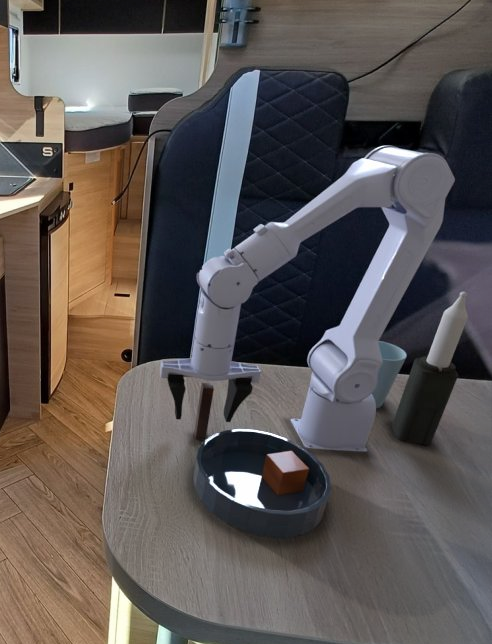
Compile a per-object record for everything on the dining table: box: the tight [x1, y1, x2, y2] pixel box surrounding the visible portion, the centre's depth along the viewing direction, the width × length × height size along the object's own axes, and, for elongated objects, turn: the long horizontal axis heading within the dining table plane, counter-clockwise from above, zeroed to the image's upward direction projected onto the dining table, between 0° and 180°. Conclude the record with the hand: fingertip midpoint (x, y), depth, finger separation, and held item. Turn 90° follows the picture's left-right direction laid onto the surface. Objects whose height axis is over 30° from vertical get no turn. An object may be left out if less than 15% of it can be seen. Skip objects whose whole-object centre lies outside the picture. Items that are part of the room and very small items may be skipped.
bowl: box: [192, 428, 332, 539], centre depth 71 cm, size 17×17×4 cm
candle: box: [391, 291, 469, 447], centre depth 79 cm, size 5×5×25 cm
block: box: [262, 451, 309, 495], centre depth 72 cm, size 4×4×4 cm
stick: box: [193, 382, 215, 441], centre depth 81 cm, size 2×2×10 cm
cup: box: [372, 340, 408, 409], centre depth 92 cm, size 8×8×10 cm
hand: (202, 417), depth 82 cm, fingers open, 7 cm apart
